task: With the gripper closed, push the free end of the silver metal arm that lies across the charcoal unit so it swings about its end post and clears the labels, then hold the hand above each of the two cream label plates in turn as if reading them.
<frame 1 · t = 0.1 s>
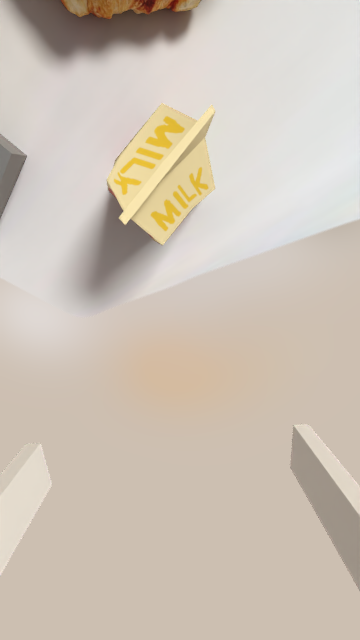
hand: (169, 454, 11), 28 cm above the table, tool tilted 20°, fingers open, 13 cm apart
milk carton: (163, 182, 28), on the table
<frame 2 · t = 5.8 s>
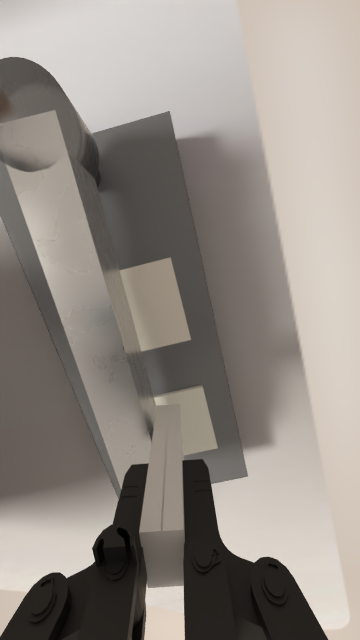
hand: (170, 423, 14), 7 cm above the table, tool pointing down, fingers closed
swing arm: (110, 348, 12), point 7 cm above the table, hinge at -2.2°, touching gripper
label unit: (145, 337, 19), on the table
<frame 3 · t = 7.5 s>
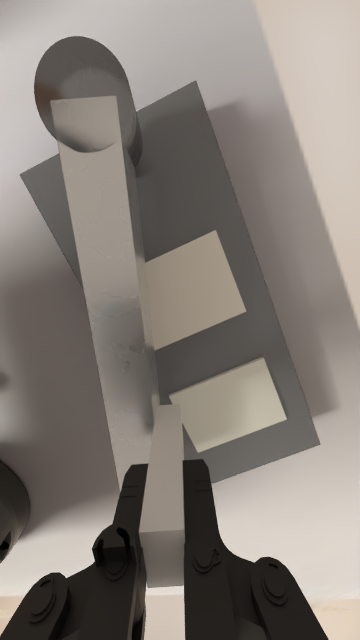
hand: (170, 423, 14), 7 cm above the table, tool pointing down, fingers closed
swing arm: (126, 338, 12), point 7 cm above the table, hinge at -19.9°, touching gripper
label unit: (192, 321, 19), on the table
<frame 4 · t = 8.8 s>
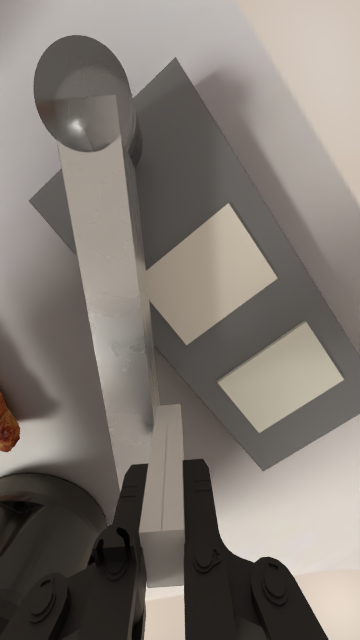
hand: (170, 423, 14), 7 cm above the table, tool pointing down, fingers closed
swing arm: (126, 338, 12), point 7 cm above the table, hinge at -33.9°, touching gripper
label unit: (221, 304, 19), on the table
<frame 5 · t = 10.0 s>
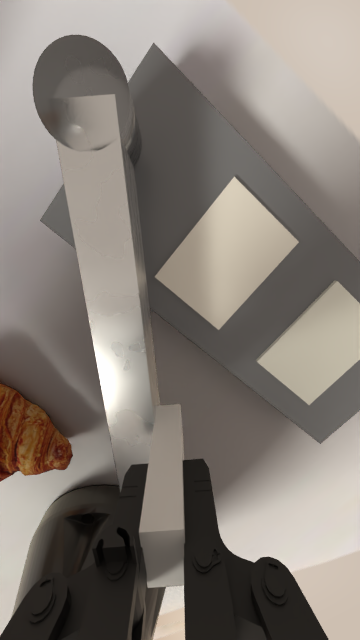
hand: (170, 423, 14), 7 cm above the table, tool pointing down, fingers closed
swing arm: (126, 337, 12), point 7 cm above the table, hinge at -45.8°, touching gripper
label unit: (242, 284, 18), on the table
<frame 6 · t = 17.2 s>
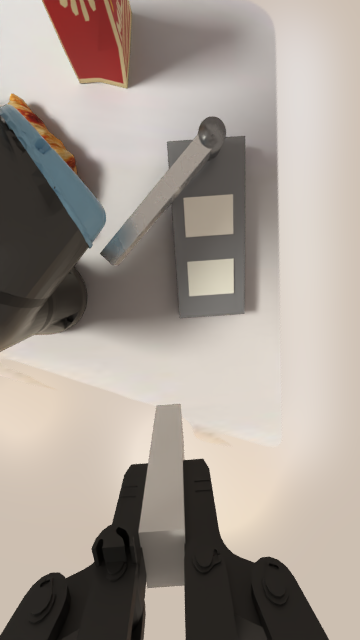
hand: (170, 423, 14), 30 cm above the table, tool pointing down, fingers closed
swing arm: (161, 198, 32), point 7 cm above the table, hinge at -47.4°
milk carton: (101, 50, 33), on the table
croissant: (54, 175, 37), on the table
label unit: (206, 237, 40), on the table
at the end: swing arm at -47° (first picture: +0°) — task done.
